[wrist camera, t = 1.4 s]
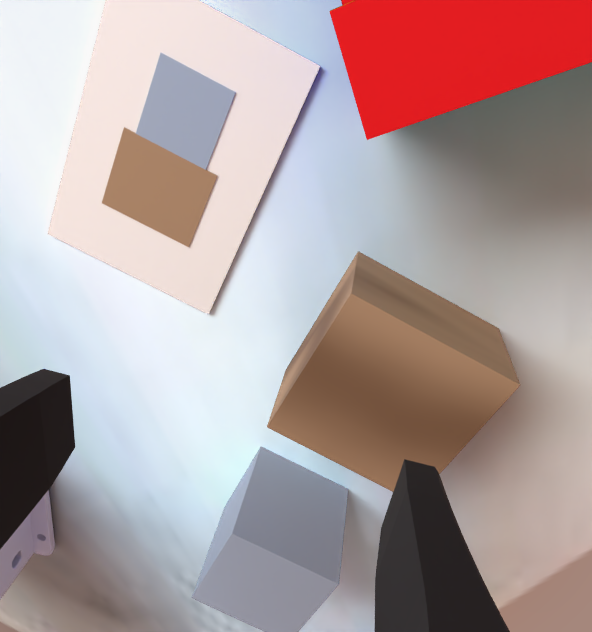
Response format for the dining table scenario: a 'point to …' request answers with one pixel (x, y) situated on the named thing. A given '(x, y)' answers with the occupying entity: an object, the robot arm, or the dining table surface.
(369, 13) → the building blocks toy
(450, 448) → the walnut brick
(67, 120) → the dining table surface
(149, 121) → the page
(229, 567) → the slate brick
